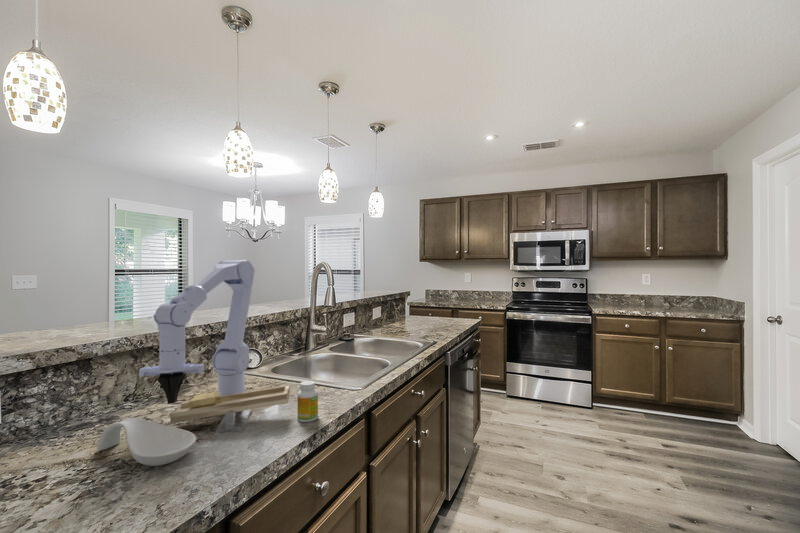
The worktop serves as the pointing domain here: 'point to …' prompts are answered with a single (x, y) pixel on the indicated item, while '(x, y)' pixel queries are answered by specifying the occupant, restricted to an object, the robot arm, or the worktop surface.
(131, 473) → the worktop surface
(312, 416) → the supplement bottle
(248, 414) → the stand
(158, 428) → the spoon rest
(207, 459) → the worktop surface
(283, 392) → the beam
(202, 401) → the block
